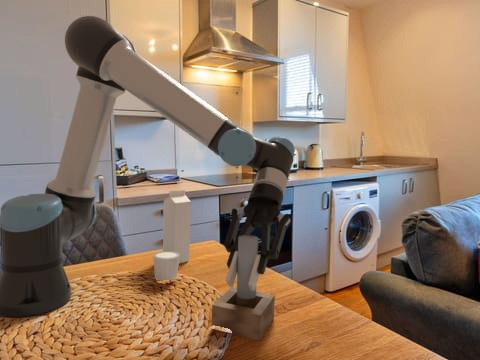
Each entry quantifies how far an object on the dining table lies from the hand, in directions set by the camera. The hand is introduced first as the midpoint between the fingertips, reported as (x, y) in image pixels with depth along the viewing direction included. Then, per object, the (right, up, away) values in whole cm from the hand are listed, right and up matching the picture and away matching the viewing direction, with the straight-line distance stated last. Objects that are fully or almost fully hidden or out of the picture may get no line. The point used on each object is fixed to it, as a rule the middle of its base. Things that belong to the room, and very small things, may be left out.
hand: (240, 285), depth 69 cm
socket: (+1, -9, +4) cm, 10 cm away
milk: (-20, -5, +42) cm, 47 cm away
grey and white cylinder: (-20, -6, +26) cm, 33 cm away
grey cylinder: (+1, -3, +4) cm, 5 cm away
